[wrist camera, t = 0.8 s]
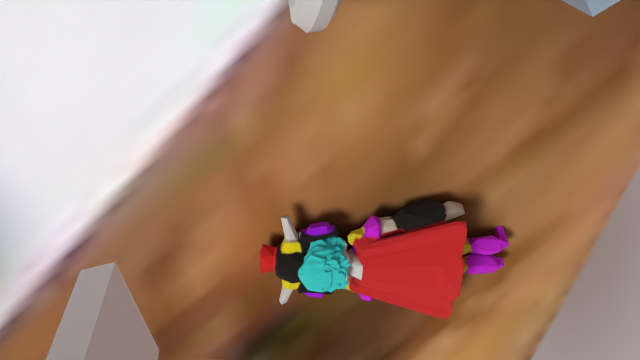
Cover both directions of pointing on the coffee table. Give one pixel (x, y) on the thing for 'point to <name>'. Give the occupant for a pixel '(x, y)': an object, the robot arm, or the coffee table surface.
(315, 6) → the cup
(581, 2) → the blue painted block
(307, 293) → the toy
